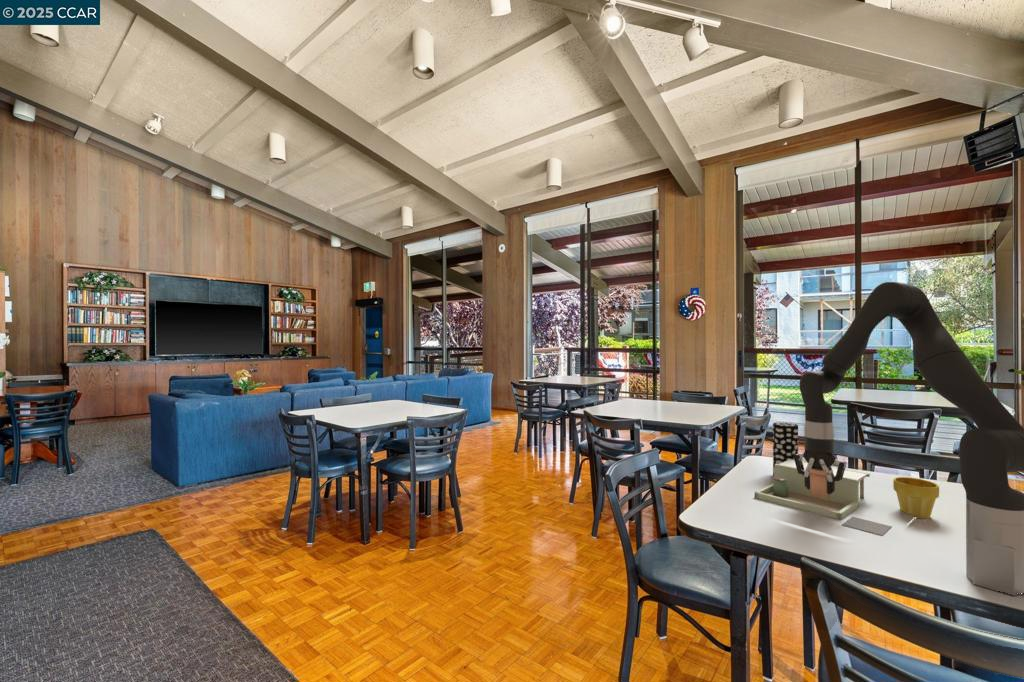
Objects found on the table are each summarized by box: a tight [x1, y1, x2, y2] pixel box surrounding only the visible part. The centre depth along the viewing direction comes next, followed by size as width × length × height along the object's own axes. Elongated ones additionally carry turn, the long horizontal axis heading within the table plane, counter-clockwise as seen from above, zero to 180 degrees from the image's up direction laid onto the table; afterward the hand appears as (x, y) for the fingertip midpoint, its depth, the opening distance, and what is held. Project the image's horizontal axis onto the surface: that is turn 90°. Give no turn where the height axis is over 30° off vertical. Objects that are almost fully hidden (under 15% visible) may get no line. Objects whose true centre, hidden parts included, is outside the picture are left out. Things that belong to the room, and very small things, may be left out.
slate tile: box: [841, 516, 893, 537], centre depth 127 cm, size 9×9×1 cm
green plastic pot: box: [772, 477, 789, 497], centre depth 153 cm, size 4×4×5 cm
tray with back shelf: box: [754, 459, 871, 520], centre depth 150 cm, size 28×24×9 cm
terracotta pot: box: [808, 468, 830, 498], centre depth 142 cm, size 6×6×10 cm
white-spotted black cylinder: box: [772, 421, 799, 475], centre depth 176 cm, size 8×8×20 cm
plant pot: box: [892, 476, 940, 519], centre depth 137 cm, size 10×10×10 cm
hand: (819, 490), depth 142 cm, fingers closed on terracotta pot, 5 cm apart
